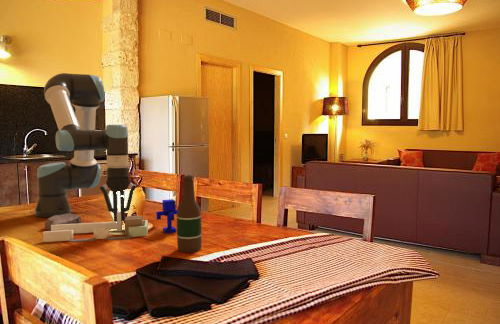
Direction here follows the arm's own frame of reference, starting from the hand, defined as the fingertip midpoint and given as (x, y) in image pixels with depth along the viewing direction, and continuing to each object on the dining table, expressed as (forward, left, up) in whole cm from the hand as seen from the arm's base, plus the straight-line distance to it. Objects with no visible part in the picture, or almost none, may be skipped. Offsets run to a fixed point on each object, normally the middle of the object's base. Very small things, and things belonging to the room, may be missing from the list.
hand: (119, 229), depth 149 cm
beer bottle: (+25, +24, -2) cm, 35 cm away
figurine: (+1, +18, -2) cm, 18 cm away
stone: (-17, -23, -2) cm, 29 cm away
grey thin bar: (+6, -6, -2) cm, 9 cm away
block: (0, +5, -2) cm, 5 cm away
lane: (0, -8, -2) cm, 8 cm away
